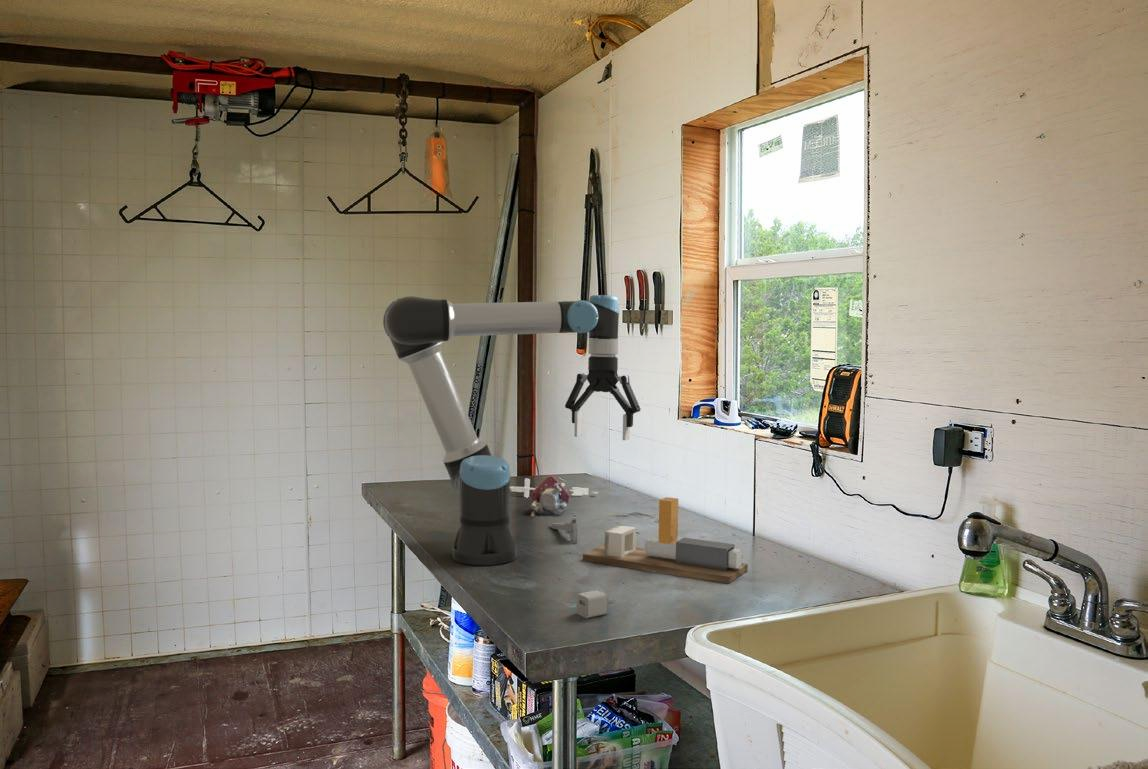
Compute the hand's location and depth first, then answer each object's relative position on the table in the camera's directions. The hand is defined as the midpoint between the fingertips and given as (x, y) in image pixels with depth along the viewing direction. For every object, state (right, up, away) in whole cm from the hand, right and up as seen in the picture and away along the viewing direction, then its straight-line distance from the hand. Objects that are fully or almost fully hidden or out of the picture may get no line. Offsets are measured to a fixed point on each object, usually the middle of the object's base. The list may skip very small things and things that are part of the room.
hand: (601, 438), depth 231 cm
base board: (+14, -28, -25) cm, 40 cm away
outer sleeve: (+22, -27, -30) cm, 46 cm away
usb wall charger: (-3, -30, -59) cm, 66 cm away
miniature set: (-17, -23, +61) cm, 67 cm away
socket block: (+4, -26, -19) cm, 32 cm away
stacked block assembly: (+20, -26, -28) cm, 43 cm away
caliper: (-10, -26, +5) cm, 28 cm away
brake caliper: (-14, -24, +32) cm, 42 cm away
